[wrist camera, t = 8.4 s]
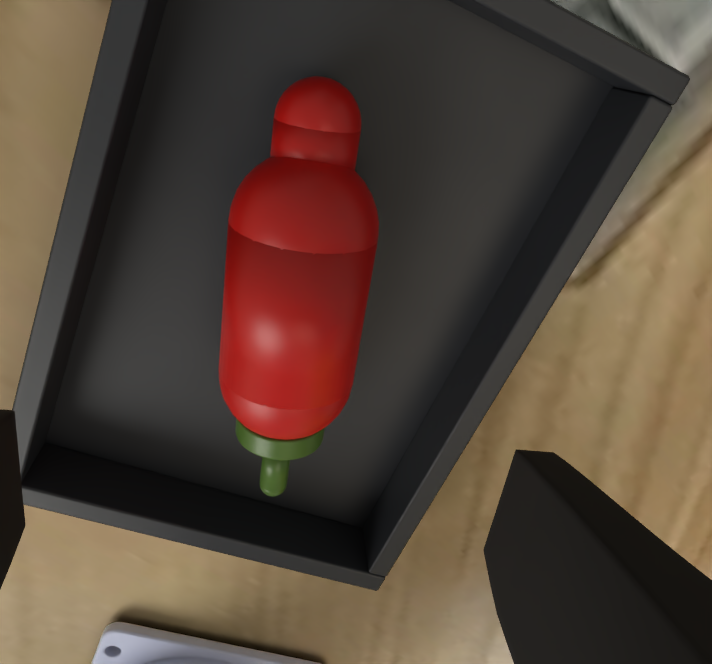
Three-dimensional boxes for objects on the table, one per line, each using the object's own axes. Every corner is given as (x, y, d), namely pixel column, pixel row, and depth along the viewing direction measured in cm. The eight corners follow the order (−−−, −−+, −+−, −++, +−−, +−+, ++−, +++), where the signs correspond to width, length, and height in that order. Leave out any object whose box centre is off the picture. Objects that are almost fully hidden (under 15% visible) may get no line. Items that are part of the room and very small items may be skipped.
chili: (335, 455, 18) (331, 536, 15) (224, 441, 18) (198, 521, 15) (399, 85, 14) (409, 100, 11) (252, 60, 13) (223, 69, 11)
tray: (370, 536, 20) (378, 592, 18) (24, 443, 18) (-10, 497, 16) (639, 69, 14) (692, 77, 13) (184, -175, 12) (162, -212, 10)
